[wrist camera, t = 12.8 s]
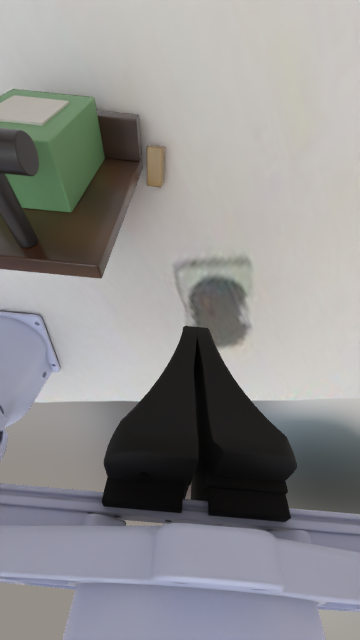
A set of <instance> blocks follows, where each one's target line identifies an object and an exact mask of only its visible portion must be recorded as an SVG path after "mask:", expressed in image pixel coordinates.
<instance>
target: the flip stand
mask: <svg viewBox="0 0 360 640" xmlns="http://www.w3.org/2000/svg"><path fill="white" fill-rule="evenodd" d="M97 116H98V122H99V127H100V133H101V139H102V145H103V150H104V156H105V159H104V161H103V162H102V164H101V165H100V167H99V169H98V170H97V172H96V174H95V175H94V177H93V179H92V180H91V182H90V184H89V185H88V187H87V188H86V190H85V192H84V193H83V195H82V197H81V198H80V200H79V202H78V203H77V205H76V207H75V208H74V210H73V211H72V212H71V213H69V212H59V211H49V210H39V209H29V208H22V206H21V204H20V202H19V200H18V198H17V196H16V194H15V192H14V190H13V188H12V187H11V185H10V183H9V181H8V179H7V177H6V175H5V174H12V175H22V176H34V175H36V174H37V172H38V169H39V157H38V152H37V149H36V146H35V144H34V142H33V140H32V138H31V137H30V136H29V135H28V134H27V133H26V132H25V131H23V130H17V129H7V128H0V269H7V270H18V271H28V272H39V273H49V274H59V275H70V276H80V277H90V278H102V276H103V274H104V271H105V268H106V265H107V263H108V260H109V257H110V255H111V252H112V249H113V246H114V244H115V241H116V238H117V236H118V233H119V230H120V227H121V225H122V222H123V219H124V217H125V214H126V211H127V208H128V206H129V203H130V200H131V198H132V195H133V192H134V189H135V187H136V184H137V181H138V179H139V176H140V173H141V170H142V157H141V156H142V152H141V135H140V119H139V115H137V114H127V113H118V112H108V111H99V110H97Z"/></svg>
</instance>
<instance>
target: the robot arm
mask: <svg viewBox="0 0 360 640" xmlns="http://www.w3.org/2000/svg"><path fill="white" fill-rule="evenodd" d="M59 371H60V366H59V364H58V361H57V358H56V355H55V353H54V350H53V347H52V345H51V342H50V339H49V336H48V334H47V331H46V328H45V326H44V323H43V320H42V318H41V317H40V316H39V315H33V314H23V313H12V312H2V311H0V461H1V460H2V458H3V455H4V453H5V450H6V446H7V440H8V434H7V432H6V431H5V430H4V428H5V427H7V426H10V425H12V424H13V423H15V422H17V421H18V420H19V419H21V418H22V417H23V416H24V415H25V414H26V413H27V412H28V410H29V409H30V407H31V406H32V404H33V402H34V401H35V399H36V397H37V396H38V394H39V392H40V391H41V389H42V387H43V386H44V384H45V382H46V381H47V379H48V377H49V376H50V374H51V372H59ZM104 467H105V470H106V473H107V476H108V478H107V482H106V486H105V490H104V492H95V491H84V490H73V489H61V488H50V487H38V486H27V485H14V484H4V483H0V582H3V583H14V584H25V585H35V586H45V587H55V588H66V589H75V594H74V597H73V601H72V605H71V609H70V613H69V616H68V620H67V624H66V628H65V631H64V635H63V639H62V640H326V639H325V635H324V631H323V627H322V623H321V619H320V615H319V611H318V609H324V610H338V611H354V612H360V514H348V513H337V512H326V511H315V510H302V509H292V508H289V507H288V503H287V499H286V495H285V494H286V493H287V492H288V490H287V486H286V482H285V480H287V479H288V478H289V477H290V476H291V475H292V474H293V473H294V471H295V470H296V468H297V463H296V460H295V456H294V454H293V451H292V449H291V446H290V444H289V442H288V439H287V437H286V436H285V435H284V434H283V433H282V432H281V431H280V430H278V429H277V428H276V427H275V426H274V425H273V424H272V423H271V422H270V421H269V420H268V419H267V418H266V417H265V416H264V415H263V414H262V413H261V412H260V411H259V410H258V408H257V407H256V406H255V405H254V404H253V403H252V402H251V400H250V399H249V398H248V397H247V396H246V394H245V393H244V392H243V390H242V389H241V388H240V387H239V385H238V384H237V382H236V381H235V379H234V378H233V376H232V375H231V373H230V372H229V370H228V368H227V367H226V365H225V363H224V362H223V360H222V358H221V356H220V354H219V352H218V350H217V348H216V346H215V344H214V341H213V339H212V336H211V333H210V330H209V329H208V328H201V327H191V326H185V327H183V332H182V335H181V338H180V341H179V344H178V346H177V348H176V350H175V352H174V354H173V356H172V358H171V360H170V362H169V363H168V365H167V367H166V368H165V370H164V372H163V373H162V374H161V376H160V377H159V379H158V380H157V382H156V383H155V384H154V386H153V387H152V388H151V389H150V391H149V392H148V393H147V394H146V395H145V396H144V398H143V399H142V400H141V401H140V402H139V403H138V404H137V405H136V407H135V408H134V409H133V410H132V411H131V412H130V413H128V414H127V416H126V417H124V418H123V419H122V420H121V421H120V423H119V425H118V427H117V428H116V430H115V432H114V434H113V436H112V438H111V440H110V443H109V445H108V448H107V451H106V455H105V458H104ZM191 481H192V485H191V500H188V499H185V497H186V493H187V490H188V487H189V485H190V484H191ZM124 520H131V521H144V522H155V523H166V524H164V525H162V526H126V522H125V521H124Z"/></svg>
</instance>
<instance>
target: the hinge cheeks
mask: <svg viewBox="0 0 360 640" xmlns="http://www.w3.org/2000/svg"><path fill="white" fill-rule="evenodd" d="M164 159H165V147H164V146H155V145H150V146H147V185H148V186H156V187H161V186H162V185H163V183H164Z"/></svg>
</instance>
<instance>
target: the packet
mask: <svg viewBox="0 0 360 640" xmlns="http://www.w3.org/2000/svg"><path fill="white" fill-rule="evenodd" d="M0 128H7V129H17V130H23V131H25V132H26V133H27V134H28V135H29V136H30V137H31V138H32V140H33V142H34V144H35V146H36V149H37V152H38V157H39V169H38V172H37V174H36V175H34V176H22V175H12V174H5V175H6V177H7V179H8V181H9V183H10V185H11V187H12V188H13V190H14V192H15V194H16V196H17V198H18V200H19V202H20V204H21V206H22V208H29V209H39V210H49V211H59V212H69V213H71V212H72V211H73V210H74V208H75V207H76V205H77V203H78V202H79V200H80V198H81V197H82V195H83V193H84V192H85V190H86V188H87V187H88V185H89V184H90V182H91V180H92V179H93V177H94V175H95V174H96V172H97V170H98V169H99V167H100V165H101V164H102V162H103V161H104V159H105V156H104V150H103V145H102V139H101V133H100V127H99V122H98V116H97V110H96V104H95V99H94V98H93V97H85V96H76V95H66V94H57V93H47V92H38V91H28V90H18V89H13V90H11V91H9V92H7V93H5V94H3V95H1V96H0Z"/></svg>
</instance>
